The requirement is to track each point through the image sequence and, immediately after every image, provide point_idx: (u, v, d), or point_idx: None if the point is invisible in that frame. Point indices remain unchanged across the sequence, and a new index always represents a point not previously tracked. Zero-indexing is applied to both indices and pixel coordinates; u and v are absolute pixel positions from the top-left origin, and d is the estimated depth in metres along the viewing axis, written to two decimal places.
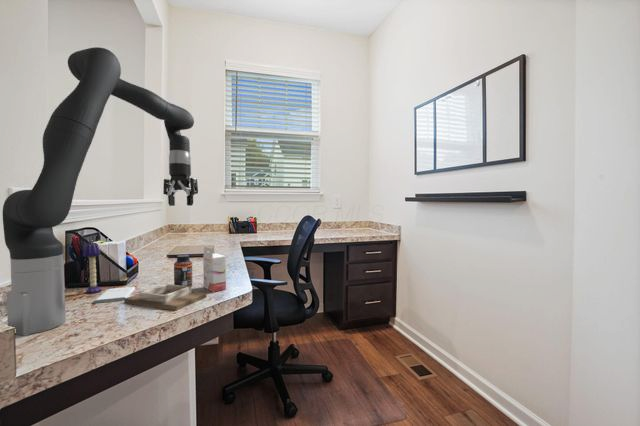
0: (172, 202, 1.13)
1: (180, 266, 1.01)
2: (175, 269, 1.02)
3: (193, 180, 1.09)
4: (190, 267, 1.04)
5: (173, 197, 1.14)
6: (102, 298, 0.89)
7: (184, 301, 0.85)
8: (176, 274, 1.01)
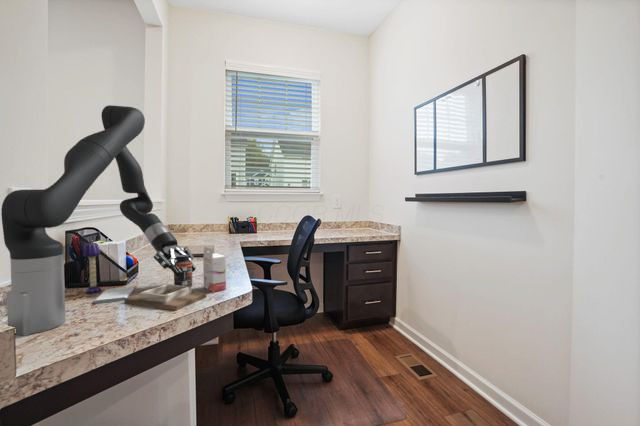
0: None
1: (180, 266, 1.01)
2: None
3: None
4: (190, 267, 1.04)
5: None
6: (102, 298, 0.88)
7: (184, 301, 0.85)
8: None
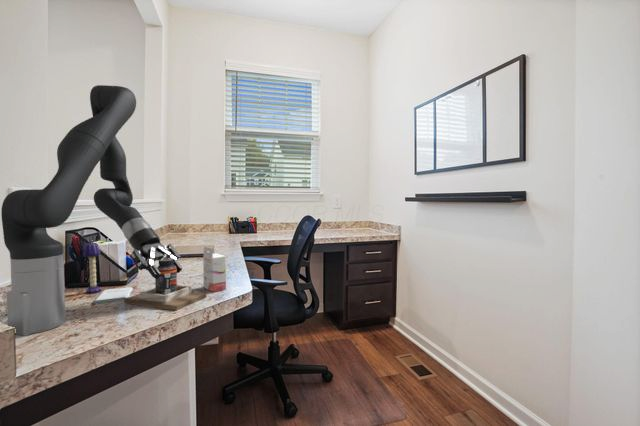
0: None
1: (162, 272, 0.87)
2: None
3: None
4: (174, 273, 0.89)
5: None
6: (102, 298, 0.88)
7: (184, 301, 0.85)
8: (157, 281, 0.87)
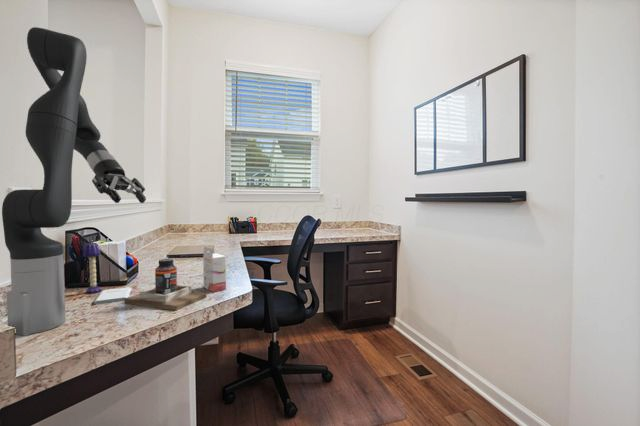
0: None
1: (162, 272, 0.87)
2: (156, 276, 0.88)
3: None
4: (174, 273, 0.89)
5: None
6: (102, 299, 0.88)
7: (184, 301, 0.85)
8: (157, 281, 0.87)
